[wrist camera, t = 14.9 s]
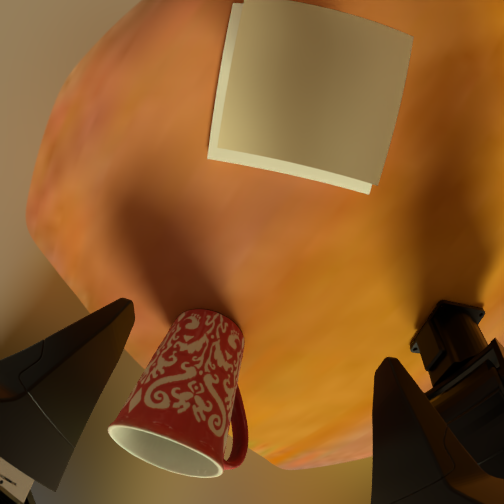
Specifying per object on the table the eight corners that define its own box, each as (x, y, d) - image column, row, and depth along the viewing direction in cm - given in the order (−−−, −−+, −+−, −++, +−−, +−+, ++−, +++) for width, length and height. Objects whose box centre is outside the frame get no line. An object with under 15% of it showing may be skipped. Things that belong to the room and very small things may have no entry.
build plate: (401, 43, 13) (406, 41, 13) (366, 190, 19) (369, 195, 18) (235, 6, 14) (232, 2, 13) (210, 156, 20) (206, 159, 19)
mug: (148, 317, 28) (87, 425, 17) (214, 285, 25) (157, 425, 13) (221, 387, 33) (193, 487, 21) (288, 370, 29) (274, 490, 18)
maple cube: (374, 55, 10) (413, 36, 6) (351, 154, 13) (377, 185, 8) (264, 29, 10) (245, -5, 6) (245, 130, 13) (217, 147, 9)
